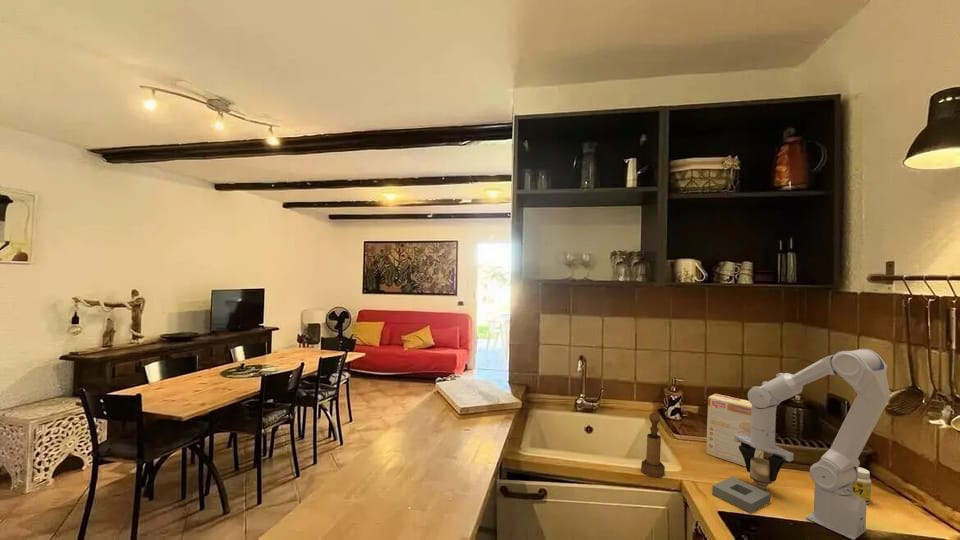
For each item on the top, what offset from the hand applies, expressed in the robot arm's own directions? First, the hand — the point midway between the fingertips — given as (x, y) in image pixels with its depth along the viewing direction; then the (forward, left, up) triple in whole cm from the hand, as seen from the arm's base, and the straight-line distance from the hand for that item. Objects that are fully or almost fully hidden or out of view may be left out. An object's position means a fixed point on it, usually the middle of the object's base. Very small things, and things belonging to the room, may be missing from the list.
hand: (761, 475), depth 119 cm
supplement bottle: (-16, -19, -4) cm, 25 cm away
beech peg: (0, 0, -3) cm, 3 cm away
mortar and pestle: (+21, +19, -4) cm, 29 cm away
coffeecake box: (+14, -13, -4) cm, 19 cm away
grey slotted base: (0, +10, -4) cm, 11 cm away
